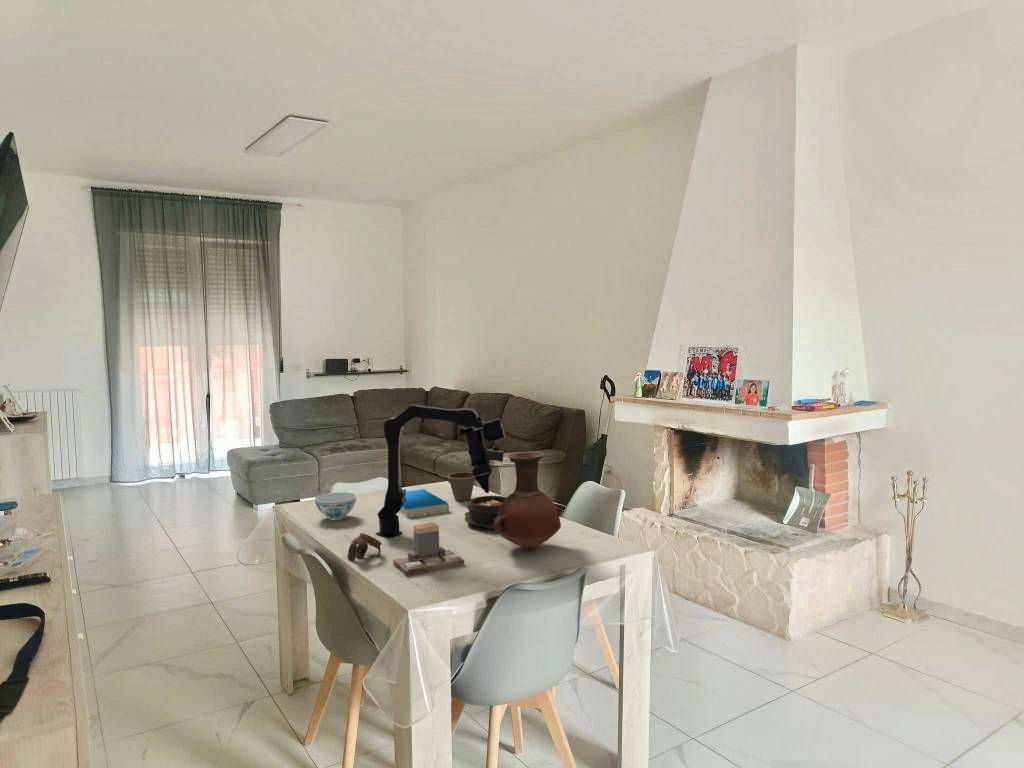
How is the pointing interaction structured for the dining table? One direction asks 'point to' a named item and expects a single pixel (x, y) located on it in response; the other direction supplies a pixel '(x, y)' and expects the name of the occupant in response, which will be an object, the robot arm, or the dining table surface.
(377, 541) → the brown curved piece
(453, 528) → the dining table surface
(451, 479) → the flower pot
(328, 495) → the chinaware
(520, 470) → the vase
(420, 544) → the grey block
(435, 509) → the book
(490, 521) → the casserole
